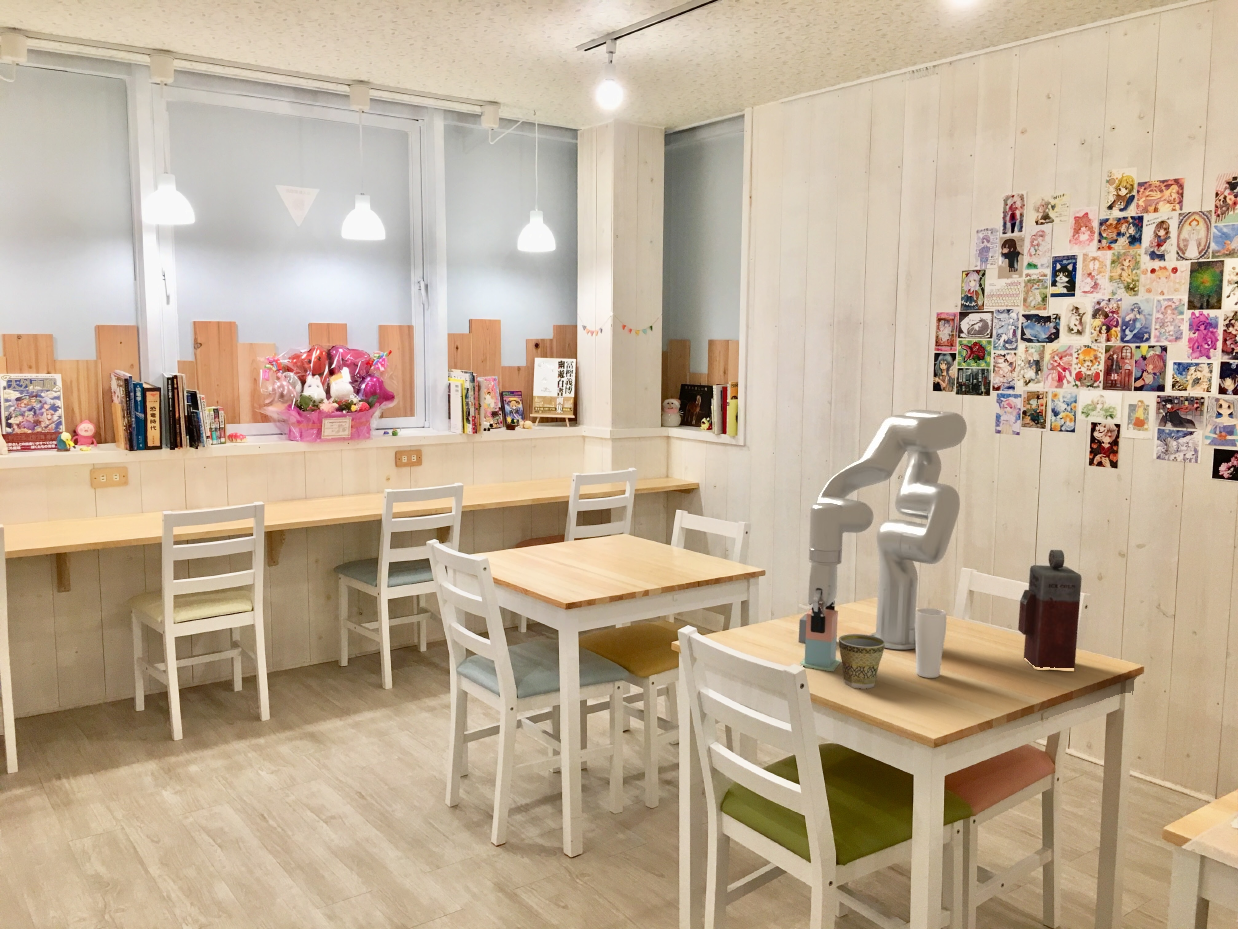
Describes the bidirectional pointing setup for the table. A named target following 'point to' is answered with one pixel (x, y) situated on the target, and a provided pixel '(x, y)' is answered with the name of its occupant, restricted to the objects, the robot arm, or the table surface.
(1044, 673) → the table surface
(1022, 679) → the table surface
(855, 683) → the ceramic cup
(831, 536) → the robot arm
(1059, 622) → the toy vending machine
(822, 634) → the coral brick
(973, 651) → the table surface
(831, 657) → the teal base brick
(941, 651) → the drinking glass
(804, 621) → the charcoal brick
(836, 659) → the green baseplate
